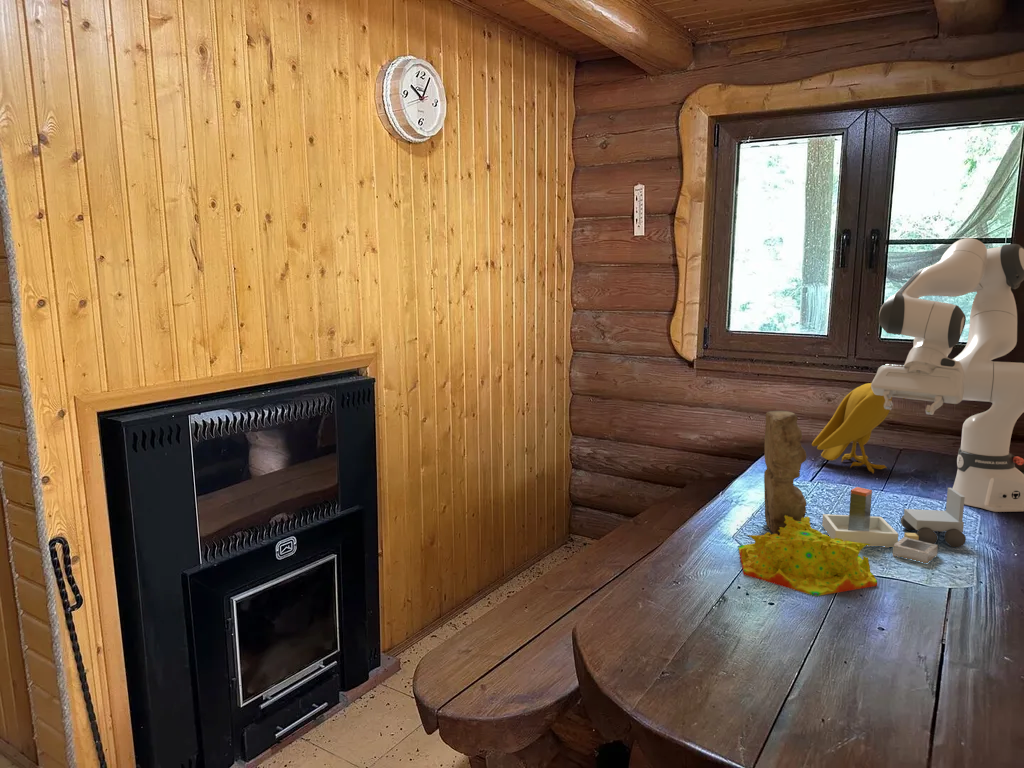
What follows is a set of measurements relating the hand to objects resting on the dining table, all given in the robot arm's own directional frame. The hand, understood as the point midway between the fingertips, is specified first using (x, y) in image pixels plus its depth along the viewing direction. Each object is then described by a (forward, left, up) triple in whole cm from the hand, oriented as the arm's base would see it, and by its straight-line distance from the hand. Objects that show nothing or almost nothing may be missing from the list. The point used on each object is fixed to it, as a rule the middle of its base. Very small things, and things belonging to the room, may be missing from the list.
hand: (907, 410), depth 172 cm
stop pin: (+13, +10, -29) cm, 33 cm away
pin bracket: (+4, +20, -29) cm, 36 cm away
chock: (+2, +13, -29) cm, 32 cm away
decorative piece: (+29, +30, -30) cm, 51 cm away
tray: (+13, +10, -29) cm, 34 cm away
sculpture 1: (+30, +9, -30) cm, 43 cm away
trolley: (-4, +8, -29) cm, 31 cm away
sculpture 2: (-6, -57, -30) cm, 64 cm away
